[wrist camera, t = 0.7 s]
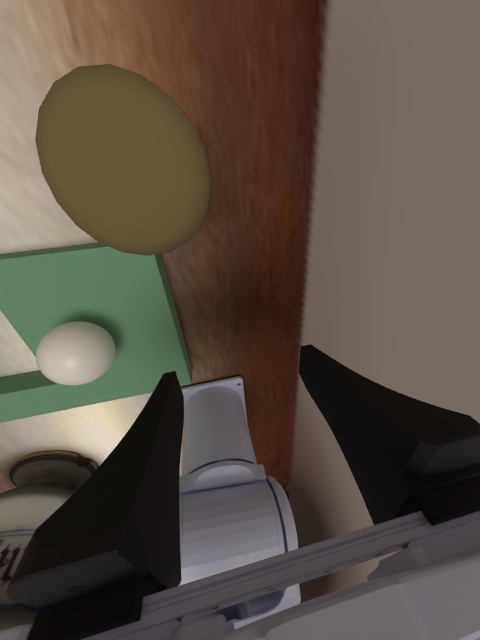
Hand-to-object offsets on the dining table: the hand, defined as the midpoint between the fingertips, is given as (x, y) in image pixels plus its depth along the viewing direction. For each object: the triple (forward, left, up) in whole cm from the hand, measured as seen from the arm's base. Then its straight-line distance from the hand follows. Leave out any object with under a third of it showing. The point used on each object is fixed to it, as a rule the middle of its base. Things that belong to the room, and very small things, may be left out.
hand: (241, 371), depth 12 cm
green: (-1, +15, -10) cm, 18 cm away
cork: (+10, +3, -10) cm, 14 cm away
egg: (0, +11, -5) cm, 12 cm away
